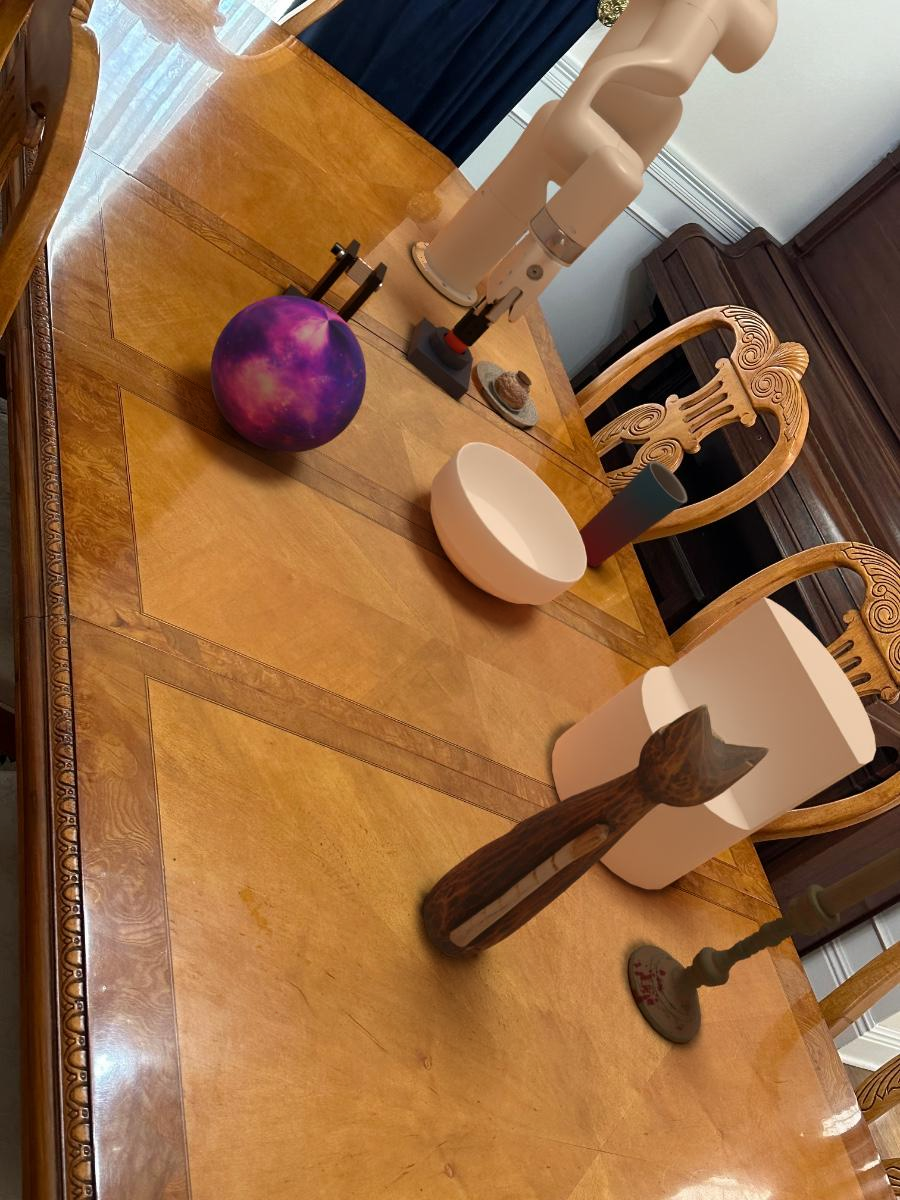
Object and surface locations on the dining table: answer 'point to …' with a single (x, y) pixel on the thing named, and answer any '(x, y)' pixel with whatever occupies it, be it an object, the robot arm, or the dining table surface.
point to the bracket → (335, 272)
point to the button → (455, 342)
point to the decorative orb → (288, 374)
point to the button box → (440, 358)
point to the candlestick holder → (742, 950)
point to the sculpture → (577, 835)
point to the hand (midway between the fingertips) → (461, 337)
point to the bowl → (505, 527)
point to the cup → (632, 512)
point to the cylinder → (724, 738)
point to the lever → (354, 267)
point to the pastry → (508, 393)
